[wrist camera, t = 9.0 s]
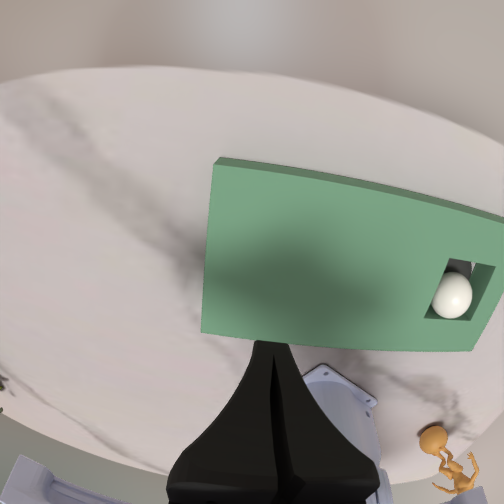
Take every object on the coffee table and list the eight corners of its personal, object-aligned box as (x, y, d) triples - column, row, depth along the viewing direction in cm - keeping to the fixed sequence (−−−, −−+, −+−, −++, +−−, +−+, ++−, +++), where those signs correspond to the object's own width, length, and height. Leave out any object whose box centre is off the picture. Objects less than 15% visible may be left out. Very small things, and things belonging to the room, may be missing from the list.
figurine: (434, 411, 31) (462, 489, 20) (466, 408, 31) (495, 478, 20) (403, 445, 34) (420, 516, 24) (435, 442, 35) (454, 507, 24)
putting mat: (510, 220, 20) (527, 231, 18) (460, 334, 25) (471, 351, 23) (219, 157, 20) (213, 164, 17) (206, 312, 25) (200, 332, 23)
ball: (459, 289, 23) (479, 315, 20) (424, 306, 24) (442, 334, 21) (457, 256, 21) (480, 281, 18) (420, 274, 22) (441, 302, 19)
